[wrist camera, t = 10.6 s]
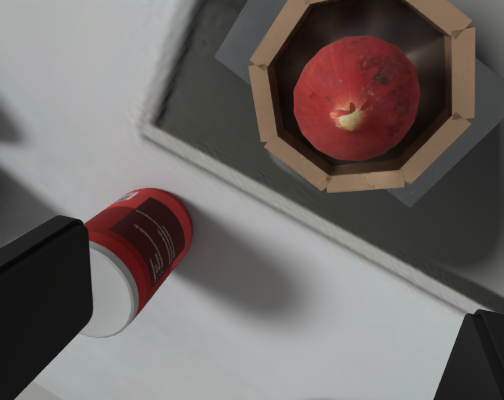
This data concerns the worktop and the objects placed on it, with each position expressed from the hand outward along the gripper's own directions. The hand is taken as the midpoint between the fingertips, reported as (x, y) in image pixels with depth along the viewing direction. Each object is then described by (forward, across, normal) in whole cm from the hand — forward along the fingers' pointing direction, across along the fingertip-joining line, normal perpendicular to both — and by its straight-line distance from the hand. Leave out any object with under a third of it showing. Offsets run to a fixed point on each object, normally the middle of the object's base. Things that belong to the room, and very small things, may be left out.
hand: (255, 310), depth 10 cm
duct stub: (+23, -1, -4) cm, 23 cm away
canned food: (+23, +14, +12) cm, 30 cm away
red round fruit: (+17, -1, -4) cm, 17 cm away
